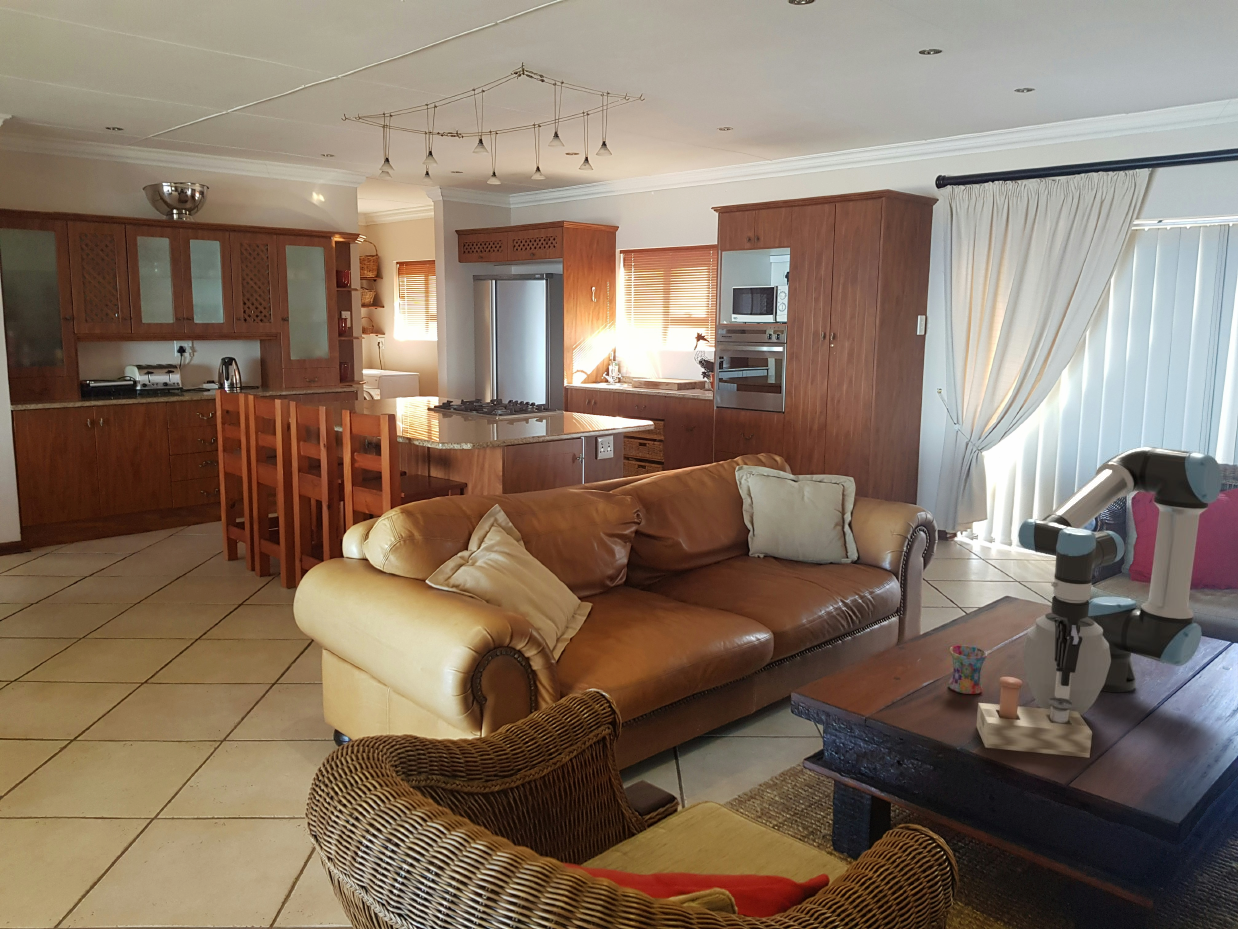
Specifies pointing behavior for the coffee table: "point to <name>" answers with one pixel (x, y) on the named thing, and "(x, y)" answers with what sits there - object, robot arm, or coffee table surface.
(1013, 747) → the block
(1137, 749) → the coffee table surface
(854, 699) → the coffee table surface
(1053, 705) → the grey plug
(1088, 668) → the vase
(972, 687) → the mug
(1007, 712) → the terracotta plug
